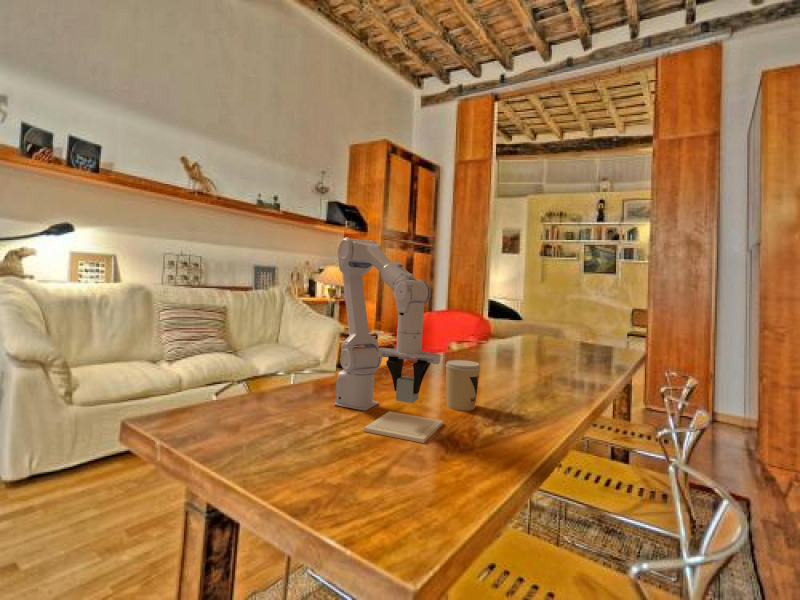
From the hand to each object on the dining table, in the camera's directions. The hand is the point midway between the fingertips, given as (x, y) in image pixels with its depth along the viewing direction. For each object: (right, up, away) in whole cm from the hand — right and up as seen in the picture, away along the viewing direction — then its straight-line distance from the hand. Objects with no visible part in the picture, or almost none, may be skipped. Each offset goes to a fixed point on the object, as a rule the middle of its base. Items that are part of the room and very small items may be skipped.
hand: (406, 391), depth 101 cm
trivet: (0, -8, 0) cm, 8 cm away
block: (0, -2, +1) cm, 2 cm away
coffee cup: (+15, -8, +20) cm, 26 cm away
